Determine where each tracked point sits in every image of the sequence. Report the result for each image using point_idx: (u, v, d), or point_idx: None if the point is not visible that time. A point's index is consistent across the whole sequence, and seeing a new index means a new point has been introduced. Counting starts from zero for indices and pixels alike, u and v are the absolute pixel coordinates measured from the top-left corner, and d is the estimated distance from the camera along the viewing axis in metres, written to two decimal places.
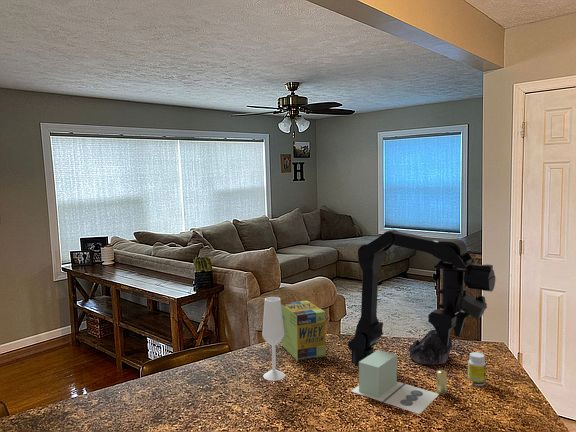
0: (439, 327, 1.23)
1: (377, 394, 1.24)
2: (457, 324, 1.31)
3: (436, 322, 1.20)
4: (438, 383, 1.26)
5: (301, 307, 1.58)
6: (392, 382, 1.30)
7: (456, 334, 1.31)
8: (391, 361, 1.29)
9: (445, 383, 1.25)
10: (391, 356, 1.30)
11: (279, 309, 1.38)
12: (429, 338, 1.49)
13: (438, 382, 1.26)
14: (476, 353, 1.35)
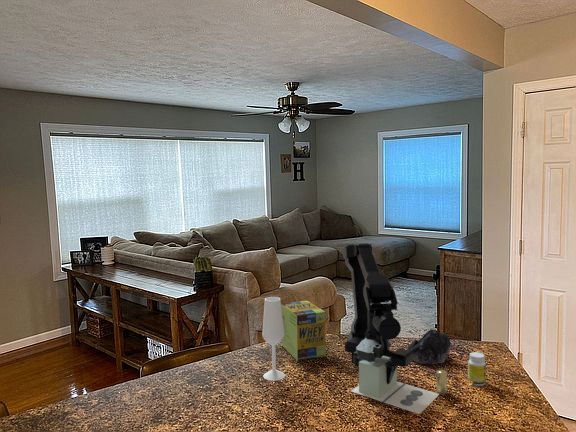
0: None
1: (377, 394, 1.24)
2: None
3: None
4: (438, 383, 1.26)
5: (301, 307, 1.58)
6: (392, 382, 1.30)
7: None
8: None
9: (445, 383, 1.25)
10: None
11: (279, 309, 1.38)
12: (428, 338, 1.49)
13: (438, 382, 1.26)
14: (476, 353, 1.35)
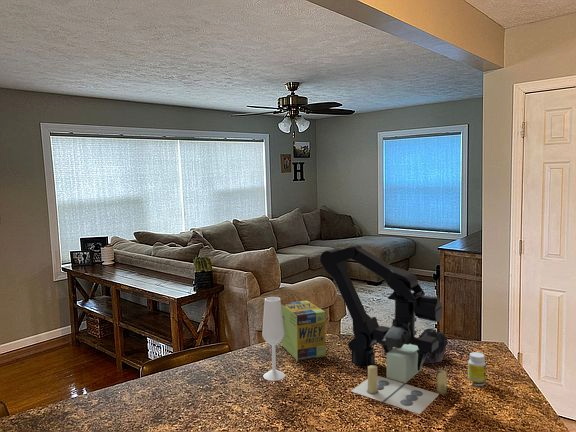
0: None
1: None
2: None
3: None
4: (438, 383, 1.25)
5: (301, 307, 1.58)
6: (417, 372, 1.38)
7: None
8: (416, 353, 1.37)
9: (445, 383, 1.25)
10: (416, 348, 1.39)
11: (279, 309, 1.38)
12: None
13: (438, 382, 1.25)
14: (476, 353, 1.35)
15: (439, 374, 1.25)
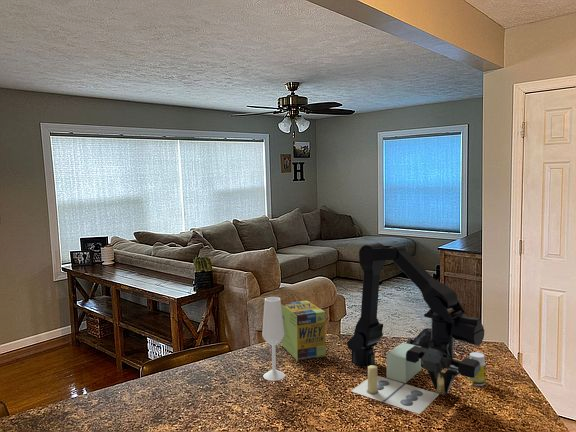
0: None
1: None
2: None
3: None
4: (438, 383, 1.26)
5: (301, 307, 1.58)
6: (417, 372, 1.38)
7: None
8: None
9: (445, 383, 1.25)
10: None
11: (279, 309, 1.38)
12: (424, 336, 1.50)
13: (438, 382, 1.25)
14: (476, 353, 1.35)
15: (439, 374, 1.25)
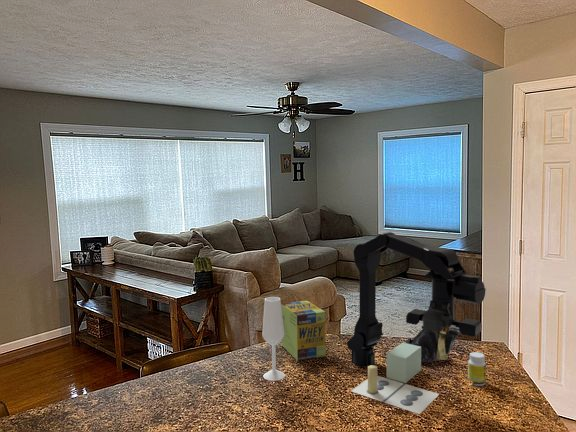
0: None
1: None
2: None
3: None
4: (439, 344, 1.24)
5: (301, 307, 1.58)
6: (417, 372, 1.38)
7: None
8: (416, 353, 1.37)
9: None
10: (416, 348, 1.39)
11: (279, 309, 1.38)
12: (423, 336, 1.50)
13: (439, 343, 1.24)
14: (476, 353, 1.35)
15: (440, 335, 1.24)
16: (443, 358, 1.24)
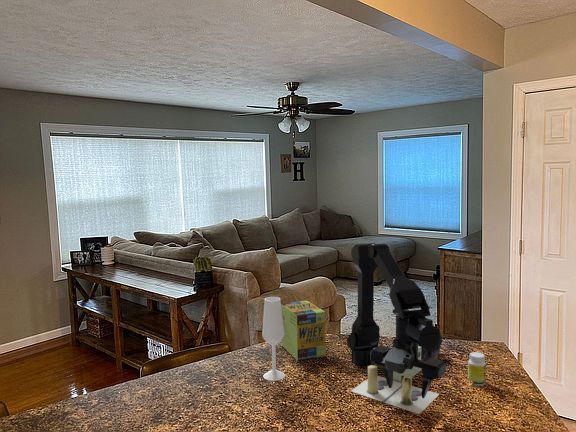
0: None
1: None
2: None
3: None
4: (403, 389, 1.20)
5: (301, 307, 1.58)
6: (417, 372, 1.38)
7: None
8: None
9: (410, 389, 1.19)
10: None
11: (279, 309, 1.38)
12: None
13: (403, 388, 1.20)
14: (476, 353, 1.35)
15: (404, 379, 1.19)
16: (407, 403, 1.20)
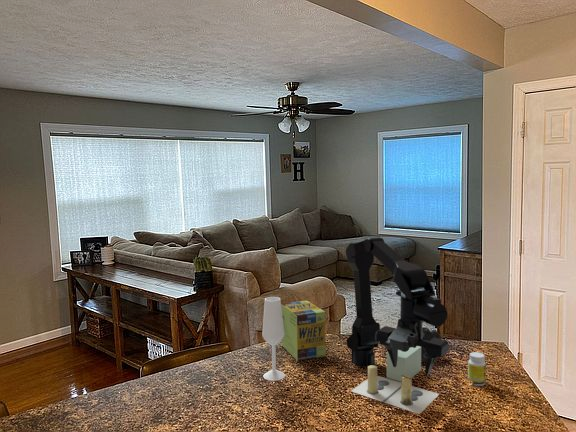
0: None
1: None
2: None
3: None
4: (403, 389, 1.20)
5: (301, 307, 1.58)
6: (417, 372, 1.38)
7: None
8: (416, 353, 1.37)
9: (410, 388, 1.20)
10: (416, 348, 1.39)
11: (279, 309, 1.38)
12: None
13: (403, 388, 1.20)
14: (476, 353, 1.35)
15: (403, 379, 1.20)
16: (407, 403, 1.20)
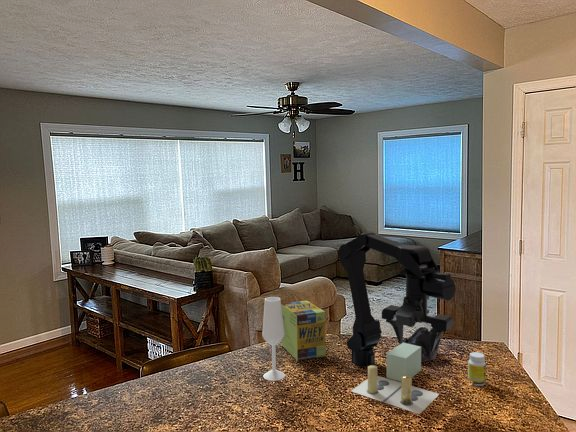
0: None
1: None
2: None
3: None
4: (403, 389, 1.20)
5: (301, 307, 1.58)
6: (417, 372, 1.38)
7: None
8: (416, 353, 1.37)
9: (410, 389, 1.20)
10: (416, 348, 1.39)
11: (279, 309, 1.38)
12: (420, 335, 1.51)
13: (403, 388, 1.20)
14: (476, 353, 1.35)
15: (403, 379, 1.19)
16: (407, 403, 1.20)
